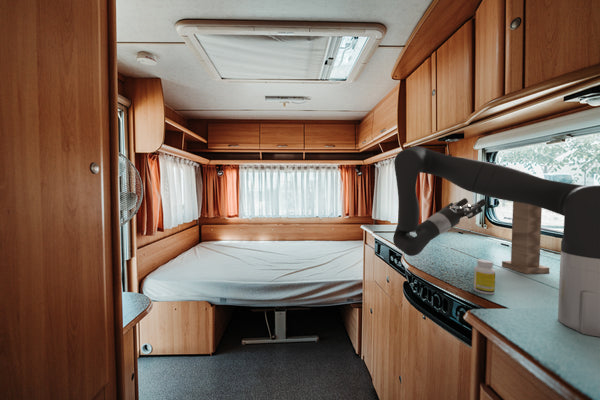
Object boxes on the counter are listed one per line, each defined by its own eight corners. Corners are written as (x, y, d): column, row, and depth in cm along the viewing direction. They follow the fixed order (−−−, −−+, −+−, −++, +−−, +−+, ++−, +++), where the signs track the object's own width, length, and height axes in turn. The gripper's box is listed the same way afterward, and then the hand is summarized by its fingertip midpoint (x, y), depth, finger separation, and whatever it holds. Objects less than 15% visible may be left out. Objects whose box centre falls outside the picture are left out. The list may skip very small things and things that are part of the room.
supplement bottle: (498, 295, 73) (499, 264, 73) (478, 294, 75) (479, 262, 74) (488, 288, 79) (489, 259, 78) (470, 287, 80) (471, 258, 79)
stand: (527, 275, 91) (530, 193, 90) (497, 265, 103) (500, 193, 102) (554, 273, 93) (557, 193, 92) (522, 264, 105) (524, 193, 104)
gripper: (451, 215, 85) (487, 192, 87) (425, 211, 100) (457, 192, 101) (460, 233, 86) (496, 210, 88) (433, 227, 100) (464, 207, 102)
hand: (475, 200), depth 94 cm, fingers open, 8 cm apart
